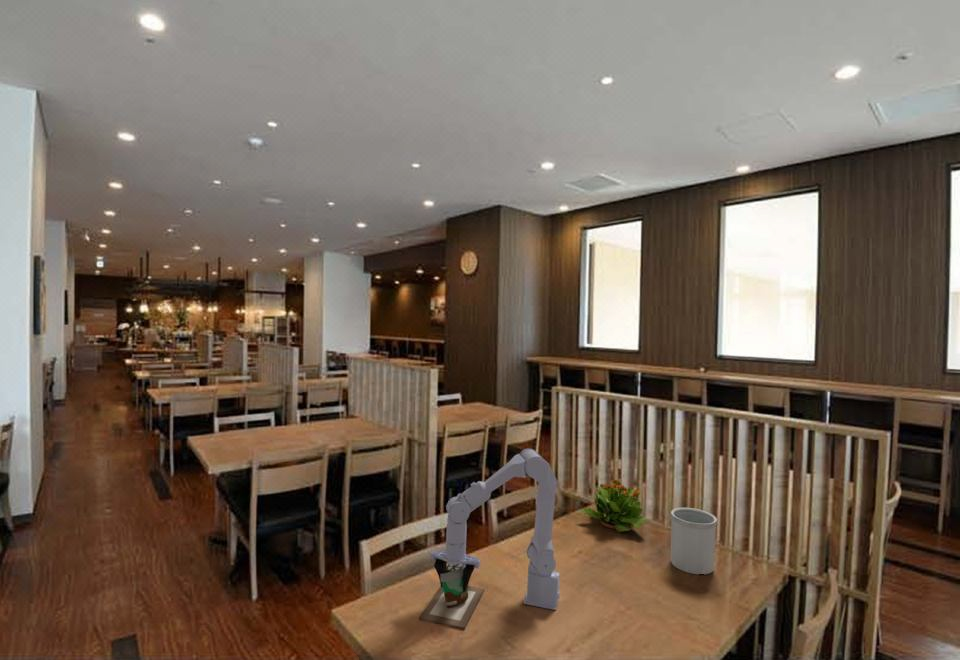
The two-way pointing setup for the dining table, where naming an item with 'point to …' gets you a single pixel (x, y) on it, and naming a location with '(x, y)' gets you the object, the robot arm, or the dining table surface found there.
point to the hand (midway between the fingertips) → (454, 587)
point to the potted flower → (617, 507)
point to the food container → (454, 585)
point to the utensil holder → (693, 540)
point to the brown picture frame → (451, 609)
